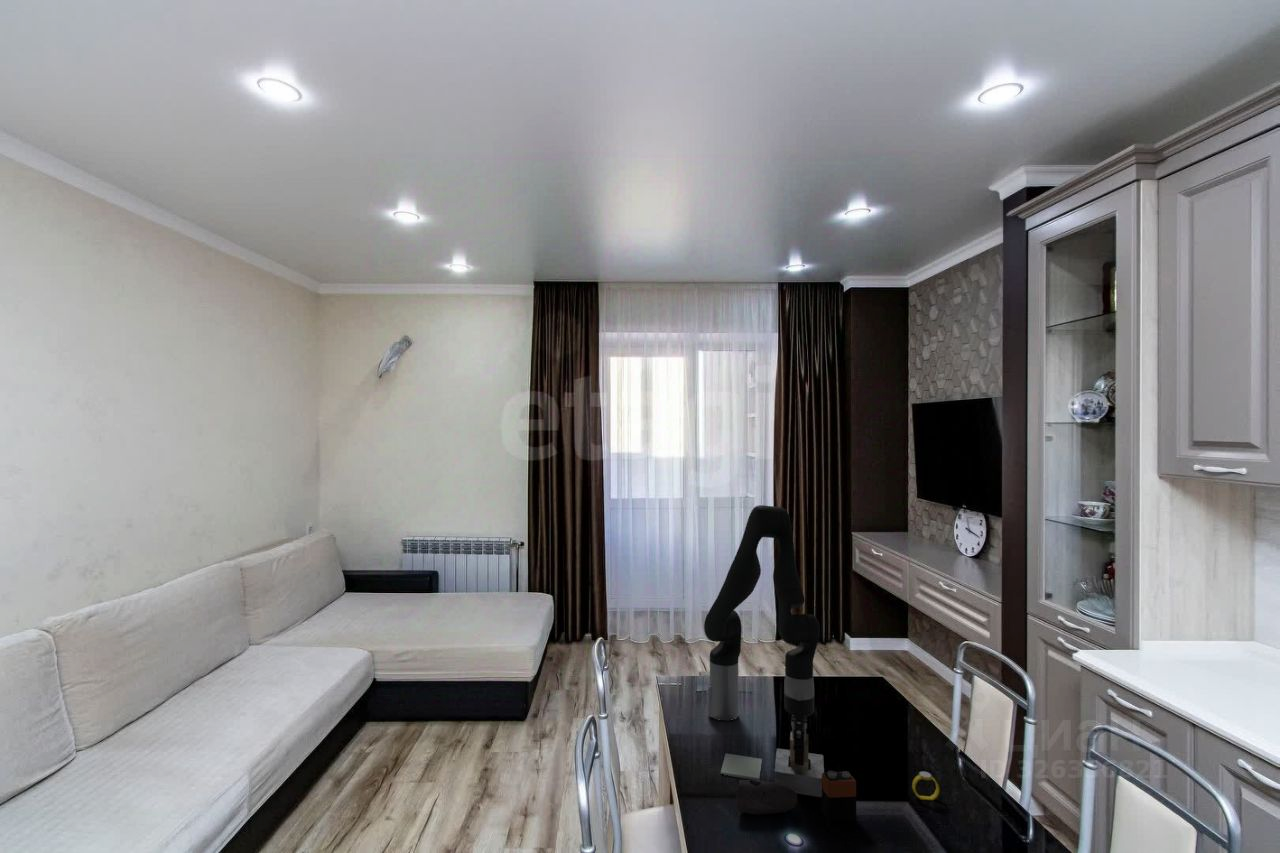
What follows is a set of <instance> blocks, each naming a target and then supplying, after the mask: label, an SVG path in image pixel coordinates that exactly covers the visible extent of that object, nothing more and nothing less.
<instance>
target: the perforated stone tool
mask: <svg viewBox="0 0 1280 853" xmlns="http://www.w3.org/2000/svg"><path fill="white" fill-rule="evenodd" d="M735 796H736V798H735V800H736V807H737V808H738V811H739V812H740V813H742V814H747V815H754V816H756V815H757V816H758V815H759V816H761V815H775V814H782V813H786V812H787V813H788V812H789V811H791V810H793V809H794V808H795V807H796V806H797V804H798V800H799V799H798V795H797V793H795V792H794V791H793V790H792V789H790V788H789V787H787V786H785V785H782V784H778V783H774V782H772V781H766V780H760V779H759V781H758V780H752V779H739V780H738V786H737V788H735Z"/></svg>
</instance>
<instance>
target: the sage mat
mask: <svg viewBox="0 0 1280 853" xmlns="http://www.w3.org/2000/svg"><path fill="white" fill-rule="evenodd" d="M761 765H763V758H759V757H758V758H757V757H753V756H746V755H739V754H738V755H737V754H733V753H732V754H731V753H725V754H724V760H723V761H722V766H721V770H720V775H721V774H724V775H723V776H727V775H728V777H735V778H740V779H745V780H757V781H759V780H760V777H761V773H760V772H761V771H762V766H761Z"/></svg>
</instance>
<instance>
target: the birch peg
mask: <svg viewBox="0 0 1280 853" xmlns="http://www.w3.org/2000/svg"><path fill="white" fill-rule="evenodd" d="M789 733H790V735H789V750H790V767H793V768H800V769H806V770H808V753H809V734H808V733H806V741H804V747H805V751H804V765H803V766H801V765H796V764H795V751H794V749H793V747H794V740H793V739H792V731H790V732H789ZM796 745H801V744H796Z"/></svg>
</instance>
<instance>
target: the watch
mask: <svg viewBox="0 0 1280 853" xmlns="http://www.w3.org/2000/svg"><path fill="white" fill-rule="evenodd" d="M921 780H924V781H931V780H932V781H933V782H934V783H935V791H934V793H933V794H931V795H930V796H928V795H919V794H918V792H917V790H916V788H917V784H918V782H919V781H921ZM911 784H912V785H911V788H912V791H913V793H914V794H915V796H916V798H918V799H919V800H920V801H934V800H936V799H937V798H938V797H939V795H940V784H939V783H938V782H937V779H935V778H934V777H933V776H932V774H931V773H929V772H927V771H920V772H919V773H918V775H916V776H915V777H914V779H913V780H912V783H911Z"/></svg>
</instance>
